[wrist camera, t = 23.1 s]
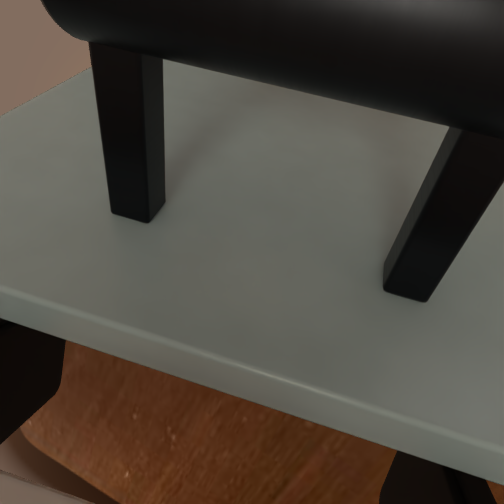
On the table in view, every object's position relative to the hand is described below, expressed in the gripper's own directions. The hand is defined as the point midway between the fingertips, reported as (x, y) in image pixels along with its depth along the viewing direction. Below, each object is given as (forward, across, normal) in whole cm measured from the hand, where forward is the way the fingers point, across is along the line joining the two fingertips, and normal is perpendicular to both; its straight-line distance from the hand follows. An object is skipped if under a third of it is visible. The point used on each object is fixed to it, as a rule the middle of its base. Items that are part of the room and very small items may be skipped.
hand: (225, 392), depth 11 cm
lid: (+3, 0, -6) cm, 7 cm away
